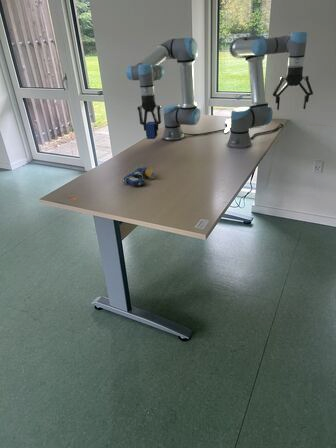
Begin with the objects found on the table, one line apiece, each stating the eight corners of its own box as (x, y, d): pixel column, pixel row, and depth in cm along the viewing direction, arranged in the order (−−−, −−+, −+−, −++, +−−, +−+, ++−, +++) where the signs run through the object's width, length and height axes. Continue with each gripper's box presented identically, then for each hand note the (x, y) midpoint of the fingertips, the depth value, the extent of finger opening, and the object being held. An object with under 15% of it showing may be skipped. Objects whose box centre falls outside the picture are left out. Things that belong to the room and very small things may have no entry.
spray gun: (161, 173, 192) (139, 170, 198) (160, 166, 189) (138, 164, 196) (143, 189, 176) (120, 186, 183) (142, 181, 174) (118, 179, 180)
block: (147, 139, 197) (145, 124, 192) (149, 136, 202) (147, 121, 197) (155, 139, 196) (153, 124, 191) (157, 136, 201) (155, 121, 196)
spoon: (232, 135, 248) (232, 132, 246) (218, 134, 251) (218, 132, 250) (241, 119, 274) (241, 117, 273) (228, 119, 278) (228, 117, 276)
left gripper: (130, 96, 185) (135, 138, 197) (162, 95, 181) (165, 137, 193) (134, 94, 191) (139, 134, 203) (164, 92, 188) (167, 133, 200)
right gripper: (270, 68, 171) (267, 111, 182) (323, 65, 166) (316, 109, 177) (269, 66, 177) (266, 108, 188) (320, 63, 172) (314, 106, 183)
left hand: (152, 135), depth 198 cm, fingers closed on block, 5 cm apart
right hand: (290, 109), depth 182 cm, fingers open, 13 cm apart
